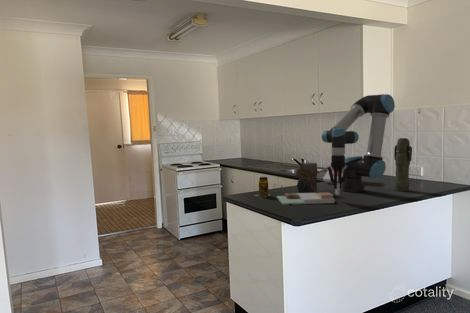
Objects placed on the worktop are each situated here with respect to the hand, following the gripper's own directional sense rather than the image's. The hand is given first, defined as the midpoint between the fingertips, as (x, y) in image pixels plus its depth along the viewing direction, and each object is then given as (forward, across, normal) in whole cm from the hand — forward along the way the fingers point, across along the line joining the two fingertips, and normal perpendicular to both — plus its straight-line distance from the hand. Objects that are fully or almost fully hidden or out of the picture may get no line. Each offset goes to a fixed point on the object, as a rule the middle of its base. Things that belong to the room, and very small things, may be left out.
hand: (337, 194), depth 207 cm
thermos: (+4, -54, -24) cm, 59 cm away
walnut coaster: (+3, +25, -9) cm, 27 cm away
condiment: (+4, +41, -22) cm, 47 cm away
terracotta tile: (+2, +7, 0) cm, 7 cm away
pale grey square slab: (+4, +12, -5) cm, 14 cm away
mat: (+4, +28, -5) cm, 28 cm away
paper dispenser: (+4, -27, -60) cm, 66 cm away
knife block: (+4, +10, -24) cm, 26 cm away
